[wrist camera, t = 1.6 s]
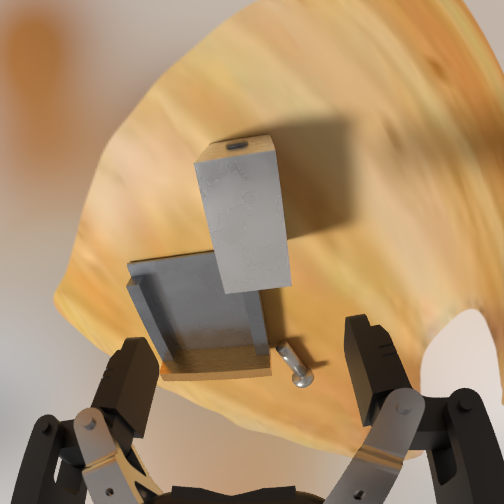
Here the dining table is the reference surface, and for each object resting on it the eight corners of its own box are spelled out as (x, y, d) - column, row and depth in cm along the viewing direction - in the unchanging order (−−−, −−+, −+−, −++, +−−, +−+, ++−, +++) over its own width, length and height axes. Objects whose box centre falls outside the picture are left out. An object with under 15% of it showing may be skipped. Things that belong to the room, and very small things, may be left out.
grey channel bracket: (127, 263, 30) (113, 286, 26) (252, 246, 29) (251, 269, 25) (169, 357, 37) (163, 381, 33) (270, 349, 36) (271, 375, 32)
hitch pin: (271, 345, 35) (271, 362, 33) (292, 337, 35) (294, 355, 32) (293, 373, 38) (295, 390, 36) (312, 367, 38) (315, 383, 35)
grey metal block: (208, 141, 24) (193, 159, 18) (269, 131, 23) (274, 146, 17) (231, 248, 29) (225, 293, 23) (284, 241, 28) (291, 285, 22)
